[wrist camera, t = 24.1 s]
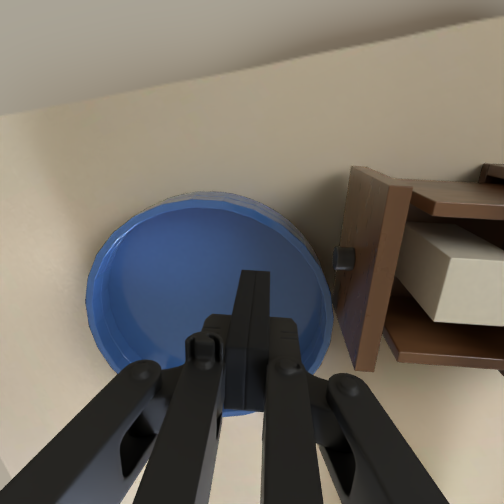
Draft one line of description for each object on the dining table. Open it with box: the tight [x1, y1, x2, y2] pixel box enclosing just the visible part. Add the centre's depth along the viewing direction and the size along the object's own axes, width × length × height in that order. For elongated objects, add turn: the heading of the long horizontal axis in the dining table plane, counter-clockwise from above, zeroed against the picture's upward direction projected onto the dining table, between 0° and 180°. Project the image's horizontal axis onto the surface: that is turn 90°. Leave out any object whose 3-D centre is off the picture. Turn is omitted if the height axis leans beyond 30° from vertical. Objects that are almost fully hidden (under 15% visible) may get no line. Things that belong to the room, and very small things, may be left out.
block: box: [395, 222, 504, 326], centre depth 22 cm, size 4×4×8 cm
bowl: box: [85, 191, 334, 417], centre depth 29 cm, size 20×20×4 cm
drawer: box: [332, 166, 504, 372], centre depth 22 cm, size 14×11×9 cm
